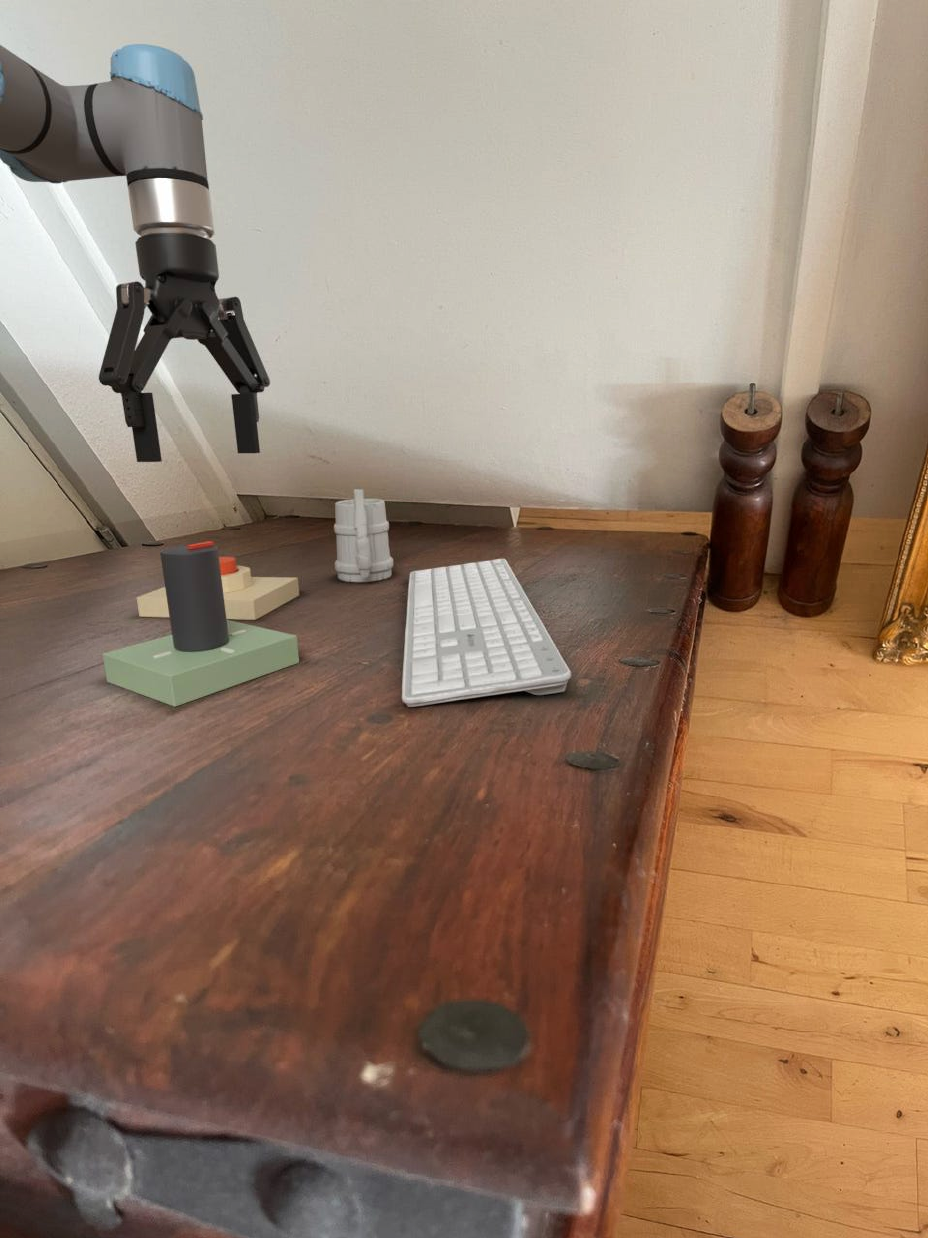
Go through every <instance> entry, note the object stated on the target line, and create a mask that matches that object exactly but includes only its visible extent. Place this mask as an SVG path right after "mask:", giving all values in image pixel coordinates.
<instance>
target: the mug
mask: <svg viewBox="0 0 928 1238" xmlns="http://www.w3.org/2000/svg"><path fill="white" fill-rule="evenodd" d="M364 494H365V490H364V489H359V488H358V489H356V488H355V489H353V499H344V500H340V501H336V502H335V503H334V515H335V516H334V517H335V523H333V524H334V525H333V532H334V533H335V536H336V537H335V539H336V541H335V542H336V560H335V561H334V569H335V571H336V572H337V578H338V579H339V580H340V581H343V582H347V583H370V582H377V581H382V580H386V579H388V578H391V577H392V573H393V572H392V569H393V567H394V558H393V557H392V556H391V552H390V546H389V543H390V542H389V541H390V540H389V533H388V532H389V529H390V523H389V521H388V520H387V513H386V503H385V500H383V499H380V498H365V495H364Z"/></svg>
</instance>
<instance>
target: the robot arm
mask: <svg viewBox="0 0 928 1238" xmlns="http://www.w3.org/2000/svg"><path fill="white" fill-rule="evenodd" d="M109 74H110V80H109V81H104V82H97V83H93V84H82V85H81V84H80V85H63V84H61V83H59V82H57V81H56V80H54V79H53V78H51V77H49V75H46V74H45V73H43V72H42V71H41V70H39V69H38V68H36V67H34V66H32V64H30V63H28V62H27V61H26V60H24V59H22V58H20V57H19V56H17V54H15V53H13V52H12V51H10V50H9V49H8V48H6V47H4V46H3V45H2V44H0V160H1V162H2V163H3V164H5V165H7V166H8V167H9V169H10V171H11V173H12V174H13V175H15V176H16V177H17V178H19V179H21V180H23V181H26V182H29V183H50V184H57V185H58V184H62V183H68V182H73V181H83V180H84V181H85V180H93V179H105V178H115V177H116V178H117V177H126V186H127V190H128V198H129V206H130V213H131V220H132V227H133V231H134V232H135V233H136V234H137V235H139V237H137V239H136V241H135V250H136V258H137V259H136V260H137V265H138V272H139V276H140V278H141V279H142V280H143V281H144V282H145V283H144V285H145V286H144V285H143V283H142V282H140V281H138V280H137V281H131V282H126V283H125V282H123V283H119V284H117V285H116V288H115V296H116V311H115V314H114V318H113V322H112V326H111V330H110V333H109V337H108V341H107V344H106V348H105V351H104V355H103V359H102V361H101V366H100V370H99V374H98V381H99V382H100V384H101V385H102V386H108V387H110V388H111V389H112V391H113V392H114V393H115V394H120V396H121V402H122V408H123V416H124V421H125V424H126V426H127V428H131V431H132V438H133V444H134V451H135V458H136V463H160V462H161V463H162V462H163V460H162V452H161V445H160V438H159V437H160V436H159V429H158V424H157V417H156V410H155V402H154V396H153V395H154V394H153V392H143V391H144V390H145V387H146V386H147V384H148V382H149V380H150V378H151V377H152V375H153V373H154V371H155V369H156V368H157V366H158V364H159V362H160V360H161V358H162V356H163V355H164V353H165V351H166V349H167V347H168V345H169V343H170V341H172V340H173V339H181V338H183V339H185V340H191V341H195V340H197V342H198V343H199V344H200V345H202V346H204V347H205V348H206V349H207V351H208V352H209V354H210V355H211V356H212V357H213V359H214V361H215V362H216V364H217V365H218V366H219V368H220V369H221V371H222V372H223V374H224V375H225V377H226V378H227V379H228V381H229V382H230V384H231V385H232V386H233V388H234V389H235V390H236V392H237V393H232V394H231V396H230V397H231V403H232V404H231V406H232V414H233V422H234V432H235V433H234V434H235V441H236V450H237V454H260V453H261V449H260V439H259V438H260V437H259V430H258V423H259V420H260V412H259V402H258V393H260V394H261V393H263V392H265V388H268V387H269V386H270V385H271V380H270V377H269V375H268V373H267V369H266V367H265V365H264V363H263V361H262V359H261V356H260V354H259V351H258V350H257V347H256V344H255V342H254V340H253V337H252V335H251V333H250V331H249V328H248V326H247V323H246V321H245V319H244V313H243V308H242V302H241V299H240V297H238V296H230V297H224V298H219V297H218V295H217V293H216V284H217V282H218V281H219V278H220V272H219V264H218V263H219V262H218V254H217V246H216V243H214V242H213V240H211V238H212V237H213V236H214V235H215V227H214V218H213V217H214V216H213V210H212V201H211V194H210V185H209V179H208V169H207V159H206V148H205V138H204V137H205V136H204V129H203V127H204V126H203V120H204V115H203V112H202V110H201V105H200V104H201V103H200V98H199V92H198V87H197V81H196V80H197V79H196V75H195V72H194V69H193V68H192V66H191V65H190V63H188V61H186V60H185V59H184V58H183V56H181V55H180V54H178V53H177V52H175V51H173V50H171V49H167V48H165V47H163V46H158V45H153V44H148V43H147V44H145V43H134V44H133V43H132V44H127V45H124V46H122V47H121V48H117V49H116V50H114V51H113V52H112V54H111V56H110V71H109ZM146 308H147V309H148V310H149V312H150V313H151V315H150V317H149V319H148V321H147V323H146V324H145V326H144V328H143V332H144V333H143V336H142V337H141V339H140V341H138V340H139V336H140V332H141V329H142V326H143V321H144V317H145V311H146ZM138 342H139V343H138ZM137 343H138V344H137Z"/></svg>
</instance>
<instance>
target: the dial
mask: <svg viewBox="0 0 928 1238" xmlns="http://www.w3.org/2000/svg"><path fill="white" fill-rule="evenodd" d="M159 552H160V553H159V554H160V561H161V568H162V574H163V583H164V587H165V589H166V596H167V603H168V610H169V617H170V618H169V623H170V624H169V625H170V631H171V635H172V638H173V644H174V648H175V649H177V650H180V651H203V650H209V649H214V648H217V647H220V646H223V645H225V644H226V643H228V641H229V635H228V627H227V620H228V619H226V611H225V603H224V594H223V586H222V578H221V570H220V562H219V557H220V556H219V548H218V546H216V545H215V542H214V541H210V540H209V541H204V542H198V543H193V544H187V545H179V546H173V547H168V548H165V549H162V550H161V551H159Z"/></svg>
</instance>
